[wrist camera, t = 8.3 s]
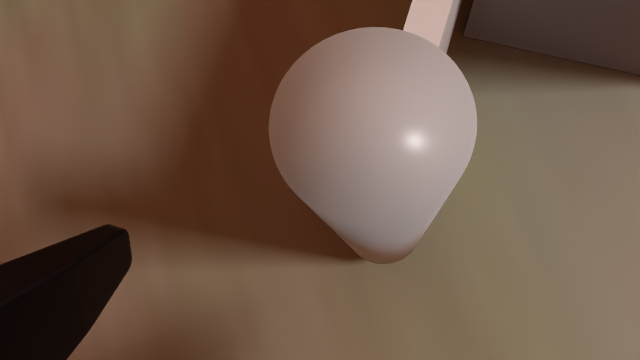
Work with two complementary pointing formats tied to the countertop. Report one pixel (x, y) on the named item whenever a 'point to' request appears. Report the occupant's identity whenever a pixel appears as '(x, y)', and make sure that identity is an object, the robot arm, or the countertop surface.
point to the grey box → (563, 29)
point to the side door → (377, 130)
